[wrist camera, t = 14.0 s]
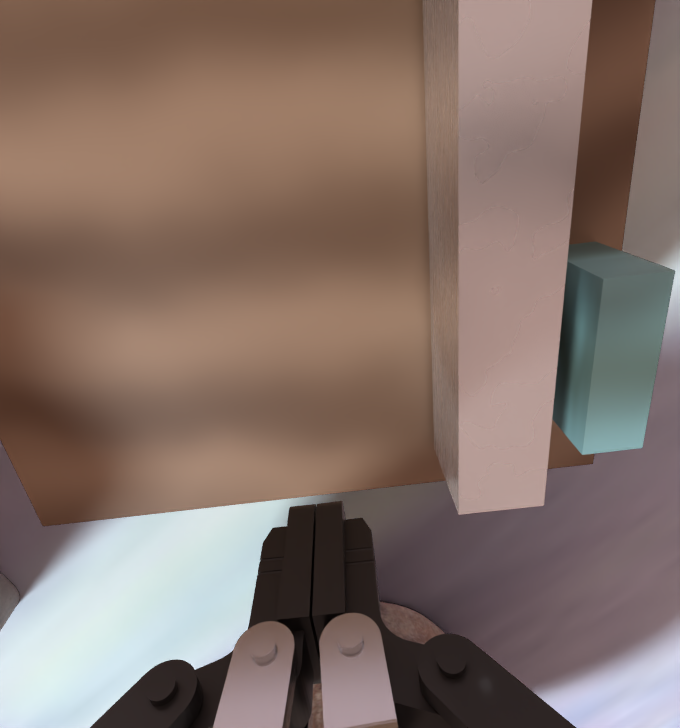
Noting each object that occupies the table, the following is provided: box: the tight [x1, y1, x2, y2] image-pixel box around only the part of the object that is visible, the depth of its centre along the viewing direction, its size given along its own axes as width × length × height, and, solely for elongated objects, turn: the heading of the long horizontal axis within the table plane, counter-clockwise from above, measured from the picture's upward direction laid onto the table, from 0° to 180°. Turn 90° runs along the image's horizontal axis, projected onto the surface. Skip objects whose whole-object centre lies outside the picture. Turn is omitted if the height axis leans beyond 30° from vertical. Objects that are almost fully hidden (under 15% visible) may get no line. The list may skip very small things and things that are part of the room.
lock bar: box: [423, 0, 592, 515], centre depth 14 cm, size 20×5×5 cm, turn 6°
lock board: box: [0, 0, 675, 526], centre depth 16 cm, size 24×25×7 cm
